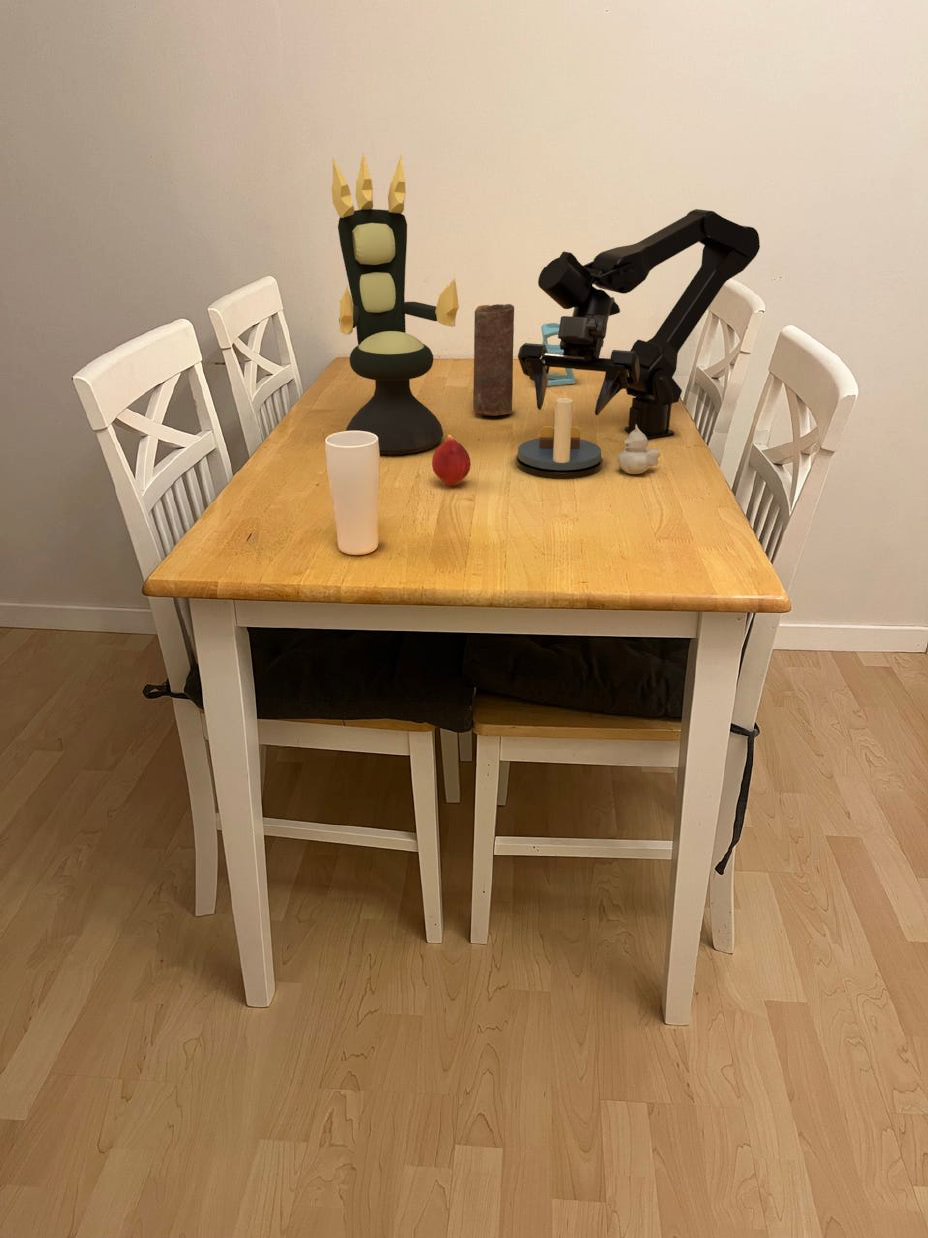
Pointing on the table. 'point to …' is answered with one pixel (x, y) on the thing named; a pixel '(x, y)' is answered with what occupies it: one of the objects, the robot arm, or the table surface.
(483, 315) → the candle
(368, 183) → the black throne
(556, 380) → the chair
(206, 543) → the table surface
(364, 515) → the drinking glass
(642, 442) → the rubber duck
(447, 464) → the onion
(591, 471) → the turntable base
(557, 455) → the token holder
